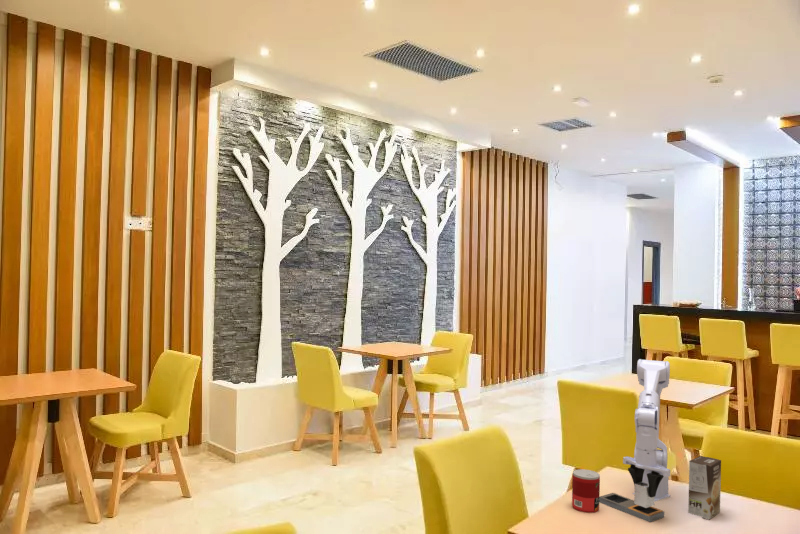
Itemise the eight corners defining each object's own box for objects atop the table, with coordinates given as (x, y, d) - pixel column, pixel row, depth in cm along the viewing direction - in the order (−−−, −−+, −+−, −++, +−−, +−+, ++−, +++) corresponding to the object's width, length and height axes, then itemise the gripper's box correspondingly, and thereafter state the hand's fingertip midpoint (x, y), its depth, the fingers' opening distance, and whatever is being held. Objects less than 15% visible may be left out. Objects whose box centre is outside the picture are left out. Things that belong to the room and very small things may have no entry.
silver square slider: (642, 500, 185) (642, 480, 185) (654, 505, 182) (654, 484, 181) (634, 503, 183) (634, 483, 183) (646, 508, 179) (646, 487, 179)
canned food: (600, 515, 182) (601, 478, 182) (572, 512, 184) (573, 476, 184) (597, 505, 190) (598, 470, 190) (571, 503, 192) (571, 468, 192)
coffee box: (710, 520, 180) (711, 466, 180) (687, 513, 185) (688, 460, 185) (720, 512, 187) (721, 459, 187) (698, 506, 191) (699, 454, 191)
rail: (612, 498, 196) (612, 492, 196) (664, 518, 181) (664, 511, 181) (598, 503, 192) (598, 496, 192) (650, 523, 177) (650, 516, 177)
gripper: (617, 444, 186) (616, 488, 186) (660, 456, 174) (659, 504, 174) (631, 441, 190) (630, 484, 190) (674, 453, 178) (673, 499, 178)
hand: (645, 494), depth 182 cm, fingers closed on silver square slider, 4 cm apart
